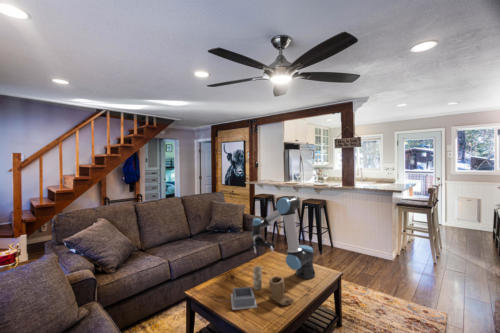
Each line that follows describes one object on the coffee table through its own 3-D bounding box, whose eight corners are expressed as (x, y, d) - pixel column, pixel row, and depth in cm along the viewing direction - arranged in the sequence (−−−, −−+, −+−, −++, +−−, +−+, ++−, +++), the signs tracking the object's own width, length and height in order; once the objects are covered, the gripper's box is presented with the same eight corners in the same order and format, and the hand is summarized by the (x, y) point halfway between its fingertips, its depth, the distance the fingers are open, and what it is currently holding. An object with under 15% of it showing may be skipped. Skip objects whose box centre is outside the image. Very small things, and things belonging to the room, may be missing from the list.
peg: (260, 285, 178) (260, 265, 177) (262, 290, 172) (262, 269, 171) (252, 286, 177) (252, 266, 176) (254, 290, 171) (254, 270, 170)
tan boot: (265, 298, 162) (265, 276, 161) (278, 292, 169) (278, 271, 168) (281, 310, 150) (281, 286, 149) (294, 303, 157) (294, 280, 156)
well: (253, 293, 168) (253, 285, 168) (257, 307, 152) (257, 299, 152) (230, 295, 166) (230, 287, 165) (232, 309, 150) (232, 301, 150)
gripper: (272, 244, 205) (280, 255, 184) (243, 245, 201) (248, 256, 180) (273, 235, 205) (280, 245, 184) (244, 236, 200) (248, 247, 179)
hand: (264, 251), depth 182 cm, fingers open, 13 cm apart
